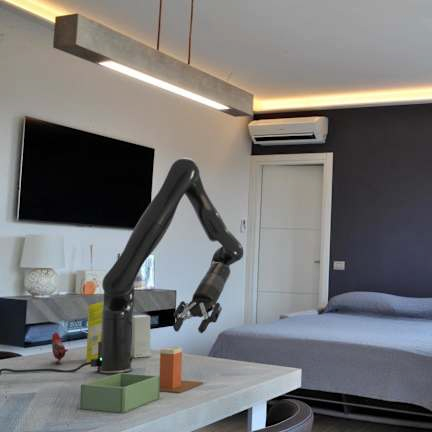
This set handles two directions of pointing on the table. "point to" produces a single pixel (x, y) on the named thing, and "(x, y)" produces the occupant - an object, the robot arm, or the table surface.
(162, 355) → the tea packet
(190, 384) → the cork mat
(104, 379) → the bin
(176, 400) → the table surface
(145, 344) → the cosmetic box
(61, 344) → the decorative bird figurine
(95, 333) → the food package
